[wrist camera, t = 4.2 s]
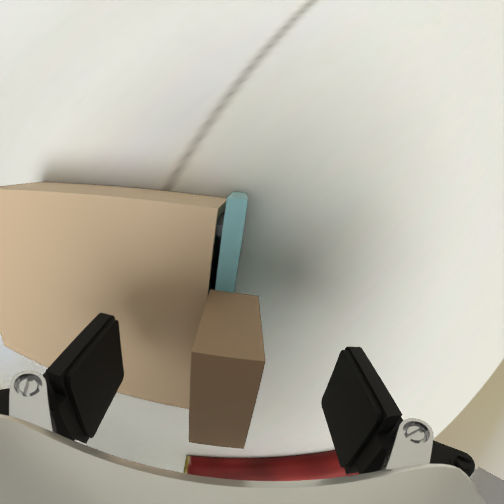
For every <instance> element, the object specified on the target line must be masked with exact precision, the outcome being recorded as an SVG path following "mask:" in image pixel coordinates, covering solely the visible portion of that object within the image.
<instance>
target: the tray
mask: <svg viewBox="0 0 504 504" xmlns="http://www.w3.org/2000/svg"><path fill="white" fill-rule="evenodd" d="M247 203H248V197H247V193H241V192H233V193H232V194H230V195H229V196H228V197H227V201H226V208H225V212H223V213H222V214H221V216H220V217H219V218H218V220H217V228H216V236H215V244H214V252H213V260H212V269H211V278H210V287H209V295H208V298H207V302H206V305H205V308H204V311H203V315H202V318H201V321H200V325H199V328H198V331H197V335H196V338H195V341H194V345H193V348H192V352H191V372H190V402H189V442H192V443H199V444H206V445H213V446H221V447H231V448H243V449H244V445H245V442H246V438H247V434H248V430H249V426H250V422H251V418H252V414H253V410H254V406H255V402H256V398H257V394H258V390H259V386H260V382H261V378H262V373H263V369H264V365H265V354H264V345H263V335H262V326H261V317H260V308H259V298H258V296H255V295H247V294H239V293H234V291H235V284H236V277H237V270H238V263H239V256H240V250H241V243H242V236H243V229H244V223H245V216H246V209H247Z"/></svg>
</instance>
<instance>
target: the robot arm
mask: <svg viewBox="0 0 504 504" xmlns="http://www.w3.org/2000/svg"><path fill="white" fill-rule="evenodd" d="M123 378H124V368H123V360H122V351H121V342H120V331H119V322H118V320H115V317H114V316H113V315H109V314H105V313H99V314H98V315H97V316H96V317H95V318H94V319H93V320H92V321H91V322H90V323H89V324H88V325H87V326H86V327H85V328H84V330H83V331H82V332H81V333H80V334H79V335H78V336H77V337H76V338H75V339H74V340H73V341H72V342H71V343H70V344H69V345H68V347H67V348H66V349H65V350H64V351H63V352H62V353H61V354H60V355H59V356H58V358H57V359H56V360H55V361H54V362H53V363H52V364H51V365H50V367H49V368H48V369H47V370H46V372H45V373H44V374H43V376H42V375H41V374H40V373H38V372H35V371H22V372H20V373H18V374H16V375H15V376H14V377H13V378H12V380H11V383H10V388H9V389H2V390H0V504H504V480H501V479H500V478H498V477H496V476H494V475H493V474H491V473H489V472H487V471H485V470H484V469H482V468H480V467H477V468H476V469H475V464H474V461H473V459H472V457H471V456H469V455H468V454H467V453H465V452H462V451H460V450H457V449H454V448H452V447H449V446H446V445H444V444H441V443H439V442H436V441H434V440H433V437H434V436H433V431H432V428H431V427H430V426H429V425H428V424H427V423H426V422H424V421H422V420H420V419H415V418H409V419H406V420H404V421H403V419H402V418H401V416H402V413H401V412H400V410H399V408H398V407H397V405H396V403H395V402H394V400H393V398H392V397H391V395H390V393H389V392H388V390H387V388H386V387H385V385H384V383H383V382H382V380H381V378H380V377H379V375H378V374H377V372H376V370H375V369H374V367H373V366H372V364H371V362H370V361H369V359H368V358H367V356H366V354H365V353H364V351H363V350H362V348H361V347H346V348H345V350H342V351H341V352H340V355H339V357H338V360H337V363H336V365H335V368H334V371H333V373H332V376H331V378H330V381H329V383H328V386H327V388H326V390H325V393H324V395H323V398H322V408H323V411H324V415H325V418H326V421H327V424H328V427H329V431H330V434H331V437H332V441H333V444H334V447H335V451H336V454H337V457H338V461H339V464H340V466H341V467H342V468H344V469H345V472H346V474H352V473H358V472H359V474H358V475H351V476H344V477H336V478H327V479H317V480H302V481H247V480H232V479H221V478H212V477H204V476H197V475H191V474H185V473H179V472H174V471H169V470H164V469H160V468H156V467H151V466H147V465H143V464H140V463H136V462H132V461H129V460H126V459H122V458H119V457H116V456H113V455H110V454H107V453H104V452H101V451H99V450H96V449H93V448H90V447H88V446H85V445H83V444H80V443H78V442H75V441H74V440H75V439H76V440H78V441H81V442H83V443H87V441H88V439H89V437H90V438H93V437H94V435H95V433H96V431H97V429H98V427H99V425H100V423H101V421H102V419H103V417H104V415H105V413H106V411H107V409H108V407H109V406H110V404H111V402H112V400H113V398H114V396H115V394H116V392H117V390H118V389H119V387H120V385H121V383H122V381H123Z"/></svg>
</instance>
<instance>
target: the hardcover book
mask: <svg viewBox="0 0 504 504" xmlns="http://www.w3.org/2000/svg"><path fill="white" fill-rule="evenodd" d="M184 473H185V474H191V475H197V476H204V477H212V478H221V479H232V480H247V481H302V480H317V479H327V478H336V477H344V476H351V475H358V474H359V472H358V473H352V474H346V472H345V469H344V468H342V467H341V466H340V464H339V461H338V457H337V454H336V451H335V450H333V451H327V452H320V453H313V454H305V455H296V456H284V457H268V458H217V457H200V456H189V455H187V457H186V462H185V467H184Z"/></svg>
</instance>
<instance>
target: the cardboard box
mask: <svg viewBox="0 0 504 504" xmlns="http://www.w3.org/2000/svg"><path fill="white" fill-rule="evenodd" d="M226 201H227V198H220V197H213V196H205V195H197V194H189V193H180V192H171V191H162V190H152V189H141V188H130V187H119V186H106V185H91V184H74V183H53V182H37V183H26V184H17V185H8V186H0V333H1V336H2V340H3V343H4V346H6V347H8V348H9V349H11V350H13V351H15V352H17V353H19V354H21V355H23V356H25V357H27V358H29V359H31V360H33V361H35V362H38V363H40V364H42V365H44V366H46V367H50V365H51V364H52V363H53V362H54V361H55V360H56V359H57V358H58V356H59V355H60V354H61V353H62V352H63V351H64V350H65V349H66V348H67V347H68V345H69V344H70V343H71V342H72V341H73V340H74V339H75V338H76V337H77V336H78V335H79V334H80V333H81V332H82V331H83V330H84V328H85V327H86V326H87V325H88V324H89V323H90V322H91V321H92V320H93V319H94V318H95V317H96V316H97V315H98V314H99V313H105V314H109V315H113V316H114V317H115V320H118V322H119V331H120V342H121V351H122V360H123V368H124V378H123V381H122V383H121V385H120V387H119V389H118V390H117V392H118V393H122V394H125V395H129V396H132V397H136V398H140V399H144V400H148V401H152V402H157V403H161V404H166V405H171V406H176V407H181V408H187V409H189V402H190V372H191V352H192V348H193V345H194V341H195V338H196V335H197V331H198V328H199V325H200V321H201V318H202V315H203V311H204V308H205V305H206V302H207V298H208V295H209V287H210V278H211V269H212V260H213V252H214V244H215V236H216V228H217V220H218V218H219V217H220V216H221V214H222V213H223V212H225V208H226Z"/></svg>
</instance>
